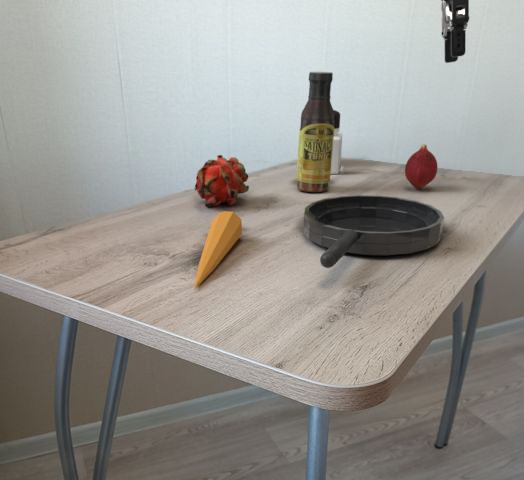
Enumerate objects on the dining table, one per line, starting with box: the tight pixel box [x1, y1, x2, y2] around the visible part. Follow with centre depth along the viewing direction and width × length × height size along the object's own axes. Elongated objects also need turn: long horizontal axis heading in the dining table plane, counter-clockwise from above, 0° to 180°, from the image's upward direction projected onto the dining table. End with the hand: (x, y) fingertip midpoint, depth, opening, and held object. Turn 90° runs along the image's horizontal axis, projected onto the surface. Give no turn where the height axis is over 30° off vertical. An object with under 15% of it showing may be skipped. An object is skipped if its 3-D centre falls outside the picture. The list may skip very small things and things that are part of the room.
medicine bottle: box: [330, 109, 343, 175], centre depth 116 cm, size 7×7×12 cm
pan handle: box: [319, 230, 358, 269], centre depth 66 cm, size 11×2×2 cm, turn 155°
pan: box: [302, 194, 445, 257], centre depth 78 cm, size 19×19×4 cm
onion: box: [404, 143, 438, 190], centre depth 101 cm, size 6×6×8 cm
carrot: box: [193, 210, 243, 290], centre depth 70 cm, size 20×4×4 cm, turn 171°
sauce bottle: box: [296, 71, 335, 193], centre depth 99 cm, size 6×6×20 cm
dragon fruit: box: [194, 154, 250, 208], centre depth 93 cm, size 8×8×12 cm
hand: (454, 59), depth 96 cm, fingers open, 8 cm apart
